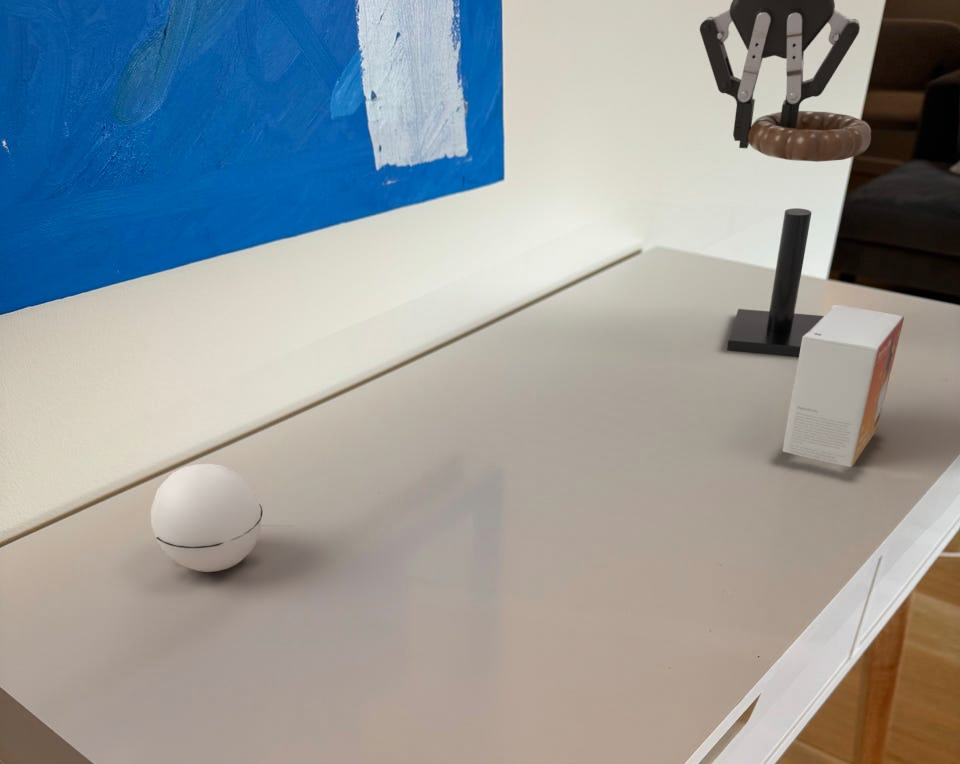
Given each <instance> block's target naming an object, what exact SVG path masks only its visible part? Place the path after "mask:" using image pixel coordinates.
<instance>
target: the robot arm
mask: <svg viewBox="0 0 960 764" xmlns="http://www.w3.org/2000/svg"><path fill="white" fill-rule="evenodd" d="M835 8H836V4H835V0H732V1H731V3H730V5H729V9H727V10H725V11H723V12H722V13H719V14H717V15H715V16H708V17H706V18H705V20H703V21H702V22H701V24H700V26H699V33H700V36H701V39H702V42H703V45H704V49H705V52H706V55H707V58H708V61H709V65H710V68H711V70H712V74H713V77H714V81H715V83H716V87H717V90H718V91H719V92H720V93H721V94H726V95H729V96H730V97H732V98H733V99H734V100H735V102H736V108H735V117H734V123H733V124H734V126H733V132H732V135H733V139H734V141H735V142H739V145H738V146H739V147H738V149H748V148H749V146H750V144H749V141H748V135H749V131H750V129H751V127H752V124H753V116H754V111H755V103H756V98H754V92H755V88H756V85H757V82H758V77H759V74H760V70H761V67H762V63H763V60H764V59H766V58H770V57H778V58H781V59H784V60H785V59H786V67H785V68H786V94H785V99H784V100H783V103H782V104H781V105H782V106H781V111H780V112H781V118H780V125H779V126H781V127H787V128H792V129H796V125H797V118H798V112H799V111H800V105H801V103H802V102H803V101H804V100H806V99H810V98H813V97H815V98H816V97H819V96H821V95H822V94H823V92H824V90H825V88H826V87H827V86H828V84H829V82H830V81H831V79H832V78H833V76H834V75H835V72H836V71H837V69H838V68H839V66H840V65H841V63H842V61H843V60H844V58H845V56H846V55H847V53H848V52H849V50H850V49H851V46H852V45H853V44H854V42H855V40H856V39H857V37H858V35H859V33H860V29H861V23H860V22H859V20H858V19H857V18H849V17H847V16H846V15H844V14H843V13H841V12H839V11H838V10H836V9H835ZM731 23H733V25H734V27H735V29H736V30H737V33H738V35H739V36H740V38H741V40H742V42H743V45H744V46H745V48H746V50H747V53H746V56H745V57H746V58H745V62H744V66H743V70H742V75H741V78H739V77H736V76H735V75H734V72H733V68H732V65H731V62H730V59H729V56H728V53H727V49H726V45H725V42H726V40H727V39H728V38H729V36H730V24H731ZM827 24H829V26H830V32H829V35H828V42H829V43H830V45H831V48H830V49H829V50H828V52H827V54H826V56H825V58H824V59H823V61H822V62H821V65H820V66H819V68H818V69H817V71H816V73H815V74H814V76H813V77H812V78H809V79H806V80H804V60H805V59H804V58H805V51H806V50H807V49H808V48H809V46H810V45H811V43H813V41H814V40H815V39H816V38H817V36H818V35H819V34H820V32H822V30H823V29H824V28H825V26H827Z"/></svg>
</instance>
